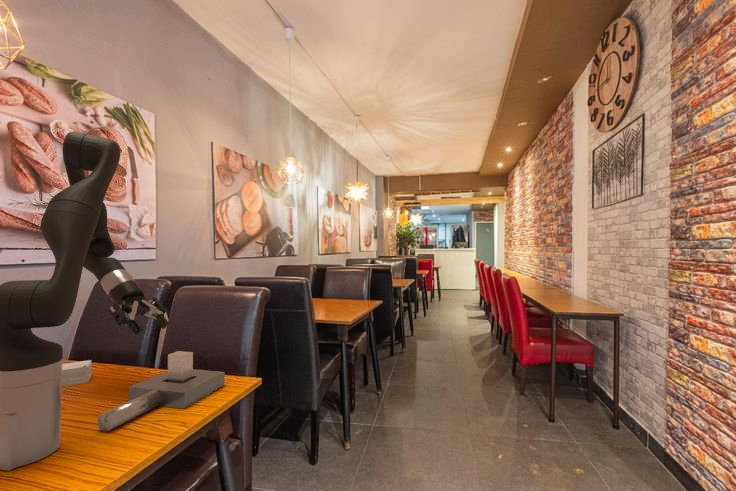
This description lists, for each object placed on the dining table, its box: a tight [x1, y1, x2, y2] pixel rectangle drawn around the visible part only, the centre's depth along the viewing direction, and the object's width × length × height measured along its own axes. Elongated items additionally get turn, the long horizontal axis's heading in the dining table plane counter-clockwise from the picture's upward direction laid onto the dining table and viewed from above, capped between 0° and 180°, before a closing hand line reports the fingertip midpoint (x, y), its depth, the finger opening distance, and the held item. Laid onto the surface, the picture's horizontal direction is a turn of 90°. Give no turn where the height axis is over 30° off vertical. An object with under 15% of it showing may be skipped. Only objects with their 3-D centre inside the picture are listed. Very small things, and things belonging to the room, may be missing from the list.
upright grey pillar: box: [167, 350, 194, 384], centre depth 94 cm, size 4×5×11 cm
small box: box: [62, 359, 93, 388], centre depth 103 cm, size 8×8×5 cm
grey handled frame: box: [97, 368, 226, 433], centre depth 87 cm, size 29×17×4 cm, turn 167°
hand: (153, 329), depth 96 cm, fingers open, 8 cm apart
